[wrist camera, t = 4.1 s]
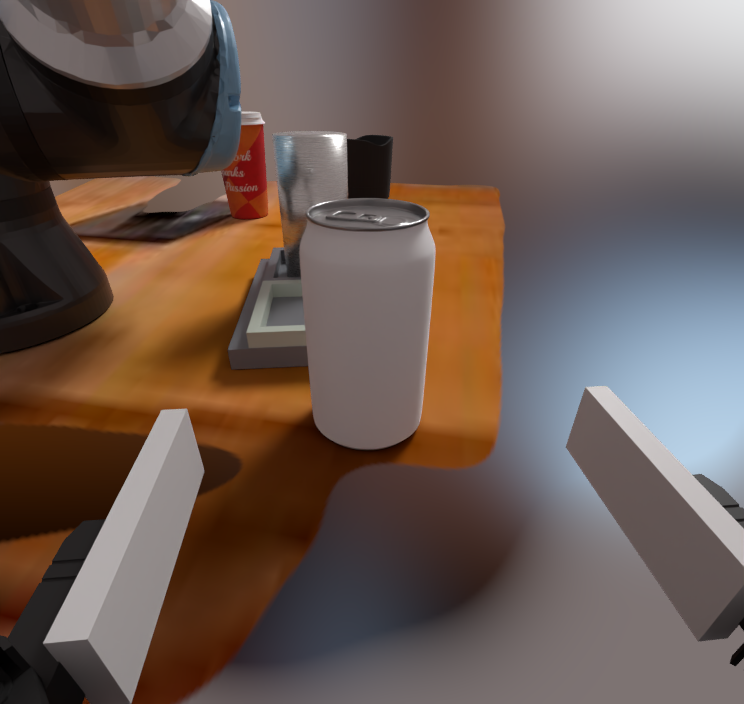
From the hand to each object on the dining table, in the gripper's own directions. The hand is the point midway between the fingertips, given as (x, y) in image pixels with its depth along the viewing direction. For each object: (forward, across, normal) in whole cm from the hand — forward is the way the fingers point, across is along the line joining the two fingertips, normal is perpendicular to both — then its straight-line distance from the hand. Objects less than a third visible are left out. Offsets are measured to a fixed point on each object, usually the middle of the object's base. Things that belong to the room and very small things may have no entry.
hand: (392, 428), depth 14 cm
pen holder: (+70, +5, -7) cm, 71 cm away
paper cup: (+59, -14, -7) cm, 61 cm away
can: (+9, 0, -7) cm, 11 cm away
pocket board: (+24, -3, -7) cm, 25 cm away
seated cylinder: (+28, -3, -5) cm, 29 cm away
